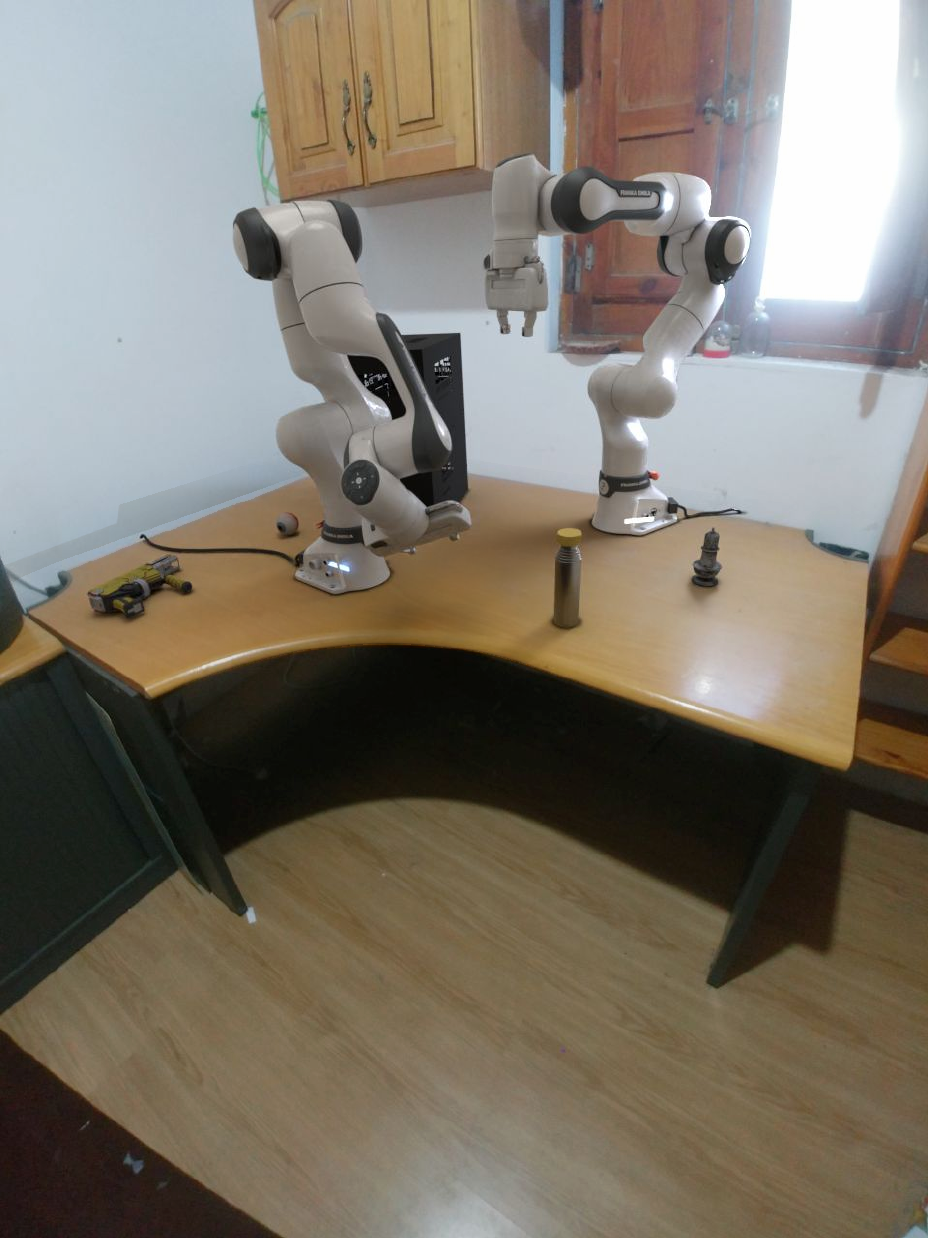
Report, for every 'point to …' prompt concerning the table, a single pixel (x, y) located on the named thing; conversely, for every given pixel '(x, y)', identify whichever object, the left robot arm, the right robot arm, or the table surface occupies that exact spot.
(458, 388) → the black box
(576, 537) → the cap
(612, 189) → the right robot arm
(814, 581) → the table surface
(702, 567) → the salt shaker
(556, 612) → the bottle
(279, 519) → the eyeball
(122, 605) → the toy gun
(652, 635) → the table surface
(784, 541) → the table surface
